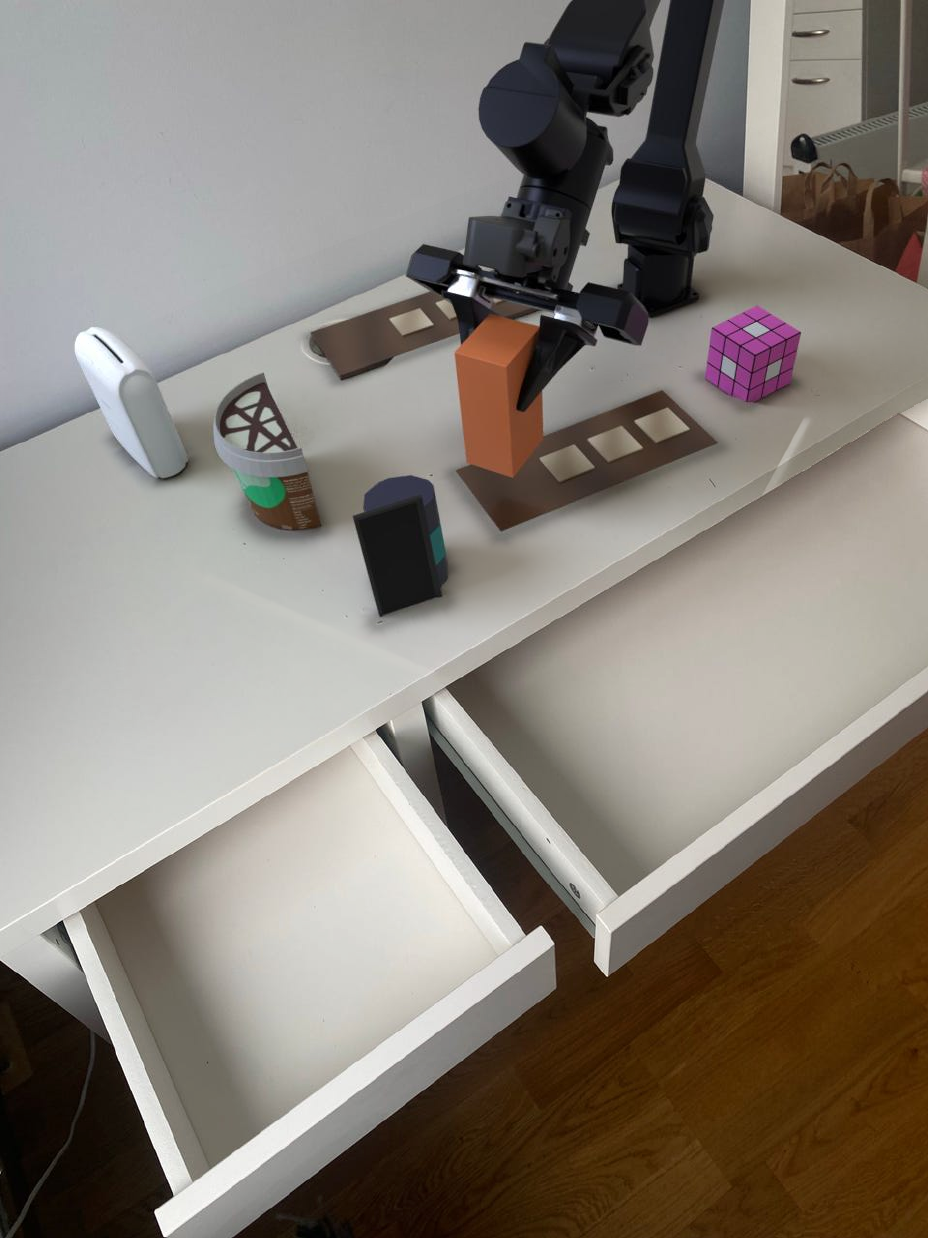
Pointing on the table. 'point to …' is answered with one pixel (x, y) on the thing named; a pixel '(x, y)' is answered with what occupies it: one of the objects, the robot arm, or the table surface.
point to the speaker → (402, 542)
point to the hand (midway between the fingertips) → (492, 402)
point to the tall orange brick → (498, 395)
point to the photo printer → (131, 401)
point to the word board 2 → (588, 459)
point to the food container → (265, 457)
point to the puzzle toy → (752, 354)
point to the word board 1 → (395, 331)
